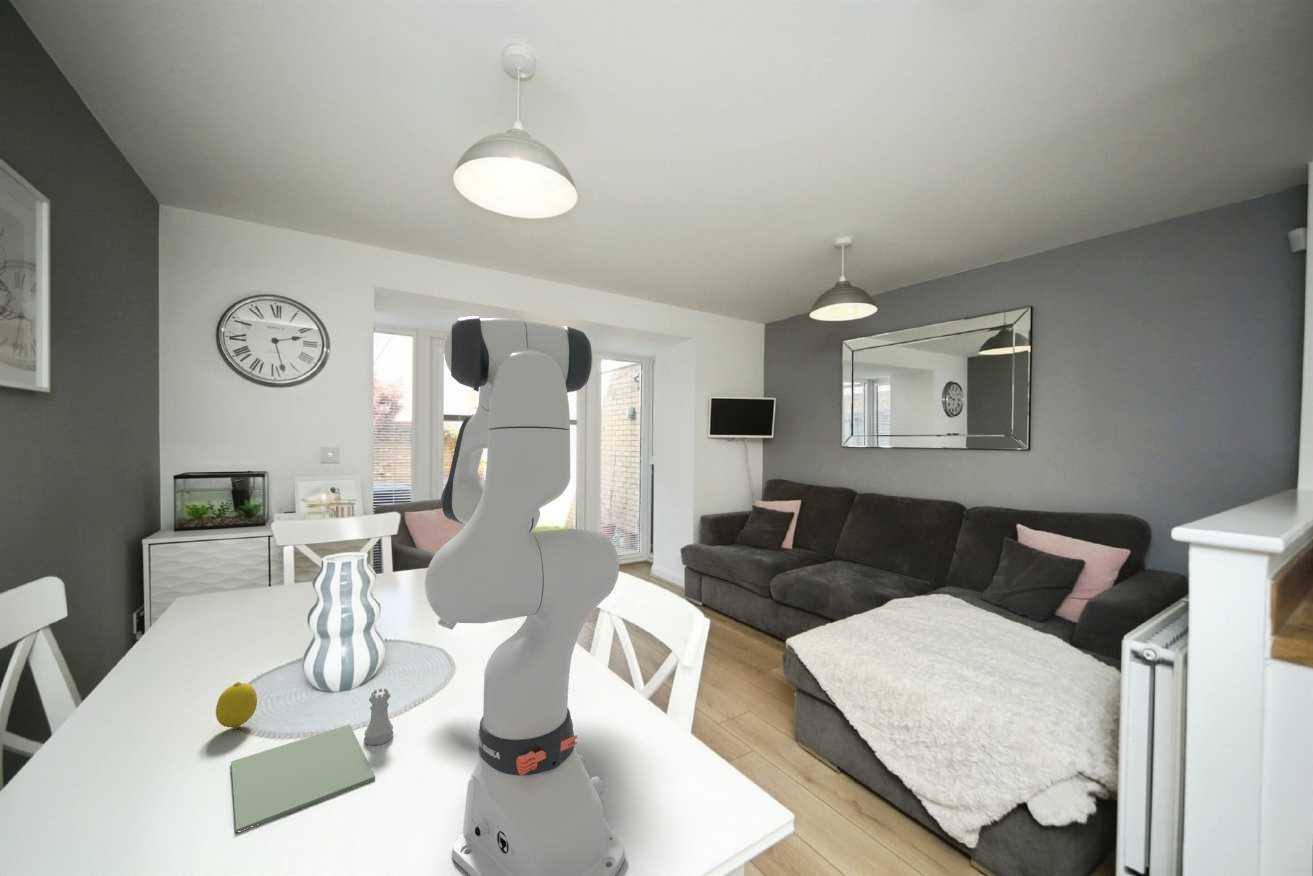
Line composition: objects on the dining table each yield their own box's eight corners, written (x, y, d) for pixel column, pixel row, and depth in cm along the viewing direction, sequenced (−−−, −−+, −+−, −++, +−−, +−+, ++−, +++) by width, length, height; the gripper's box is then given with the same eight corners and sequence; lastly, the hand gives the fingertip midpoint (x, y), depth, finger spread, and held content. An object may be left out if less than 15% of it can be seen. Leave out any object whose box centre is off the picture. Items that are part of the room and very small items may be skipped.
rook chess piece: (372, 750, 82) (373, 701, 82) (358, 740, 85) (359, 693, 85) (398, 736, 86) (400, 690, 86) (384, 728, 88) (385, 683, 88)
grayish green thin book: (375, 779, 75) (375, 776, 75) (236, 833, 64) (236, 829, 64) (349, 727, 88) (349, 724, 88) (231, 764, 78) (231, 761, 78)
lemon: (232, 739, 84) (234, 692, 84) (206, 735, 85) (207, 688, 85) (264, 722, 90) (265, 677, 90) (239, 717, 91) (240, 673, 91)
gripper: (445, 549, 108) (401, 607, 100) (513, 564, 97) (469, 630, 89) (462, 566, 112) (421, 622, 103) (529, 581, 101) (489, 646, 93)
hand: (444, 626), depth 96 cm, fingers closed
